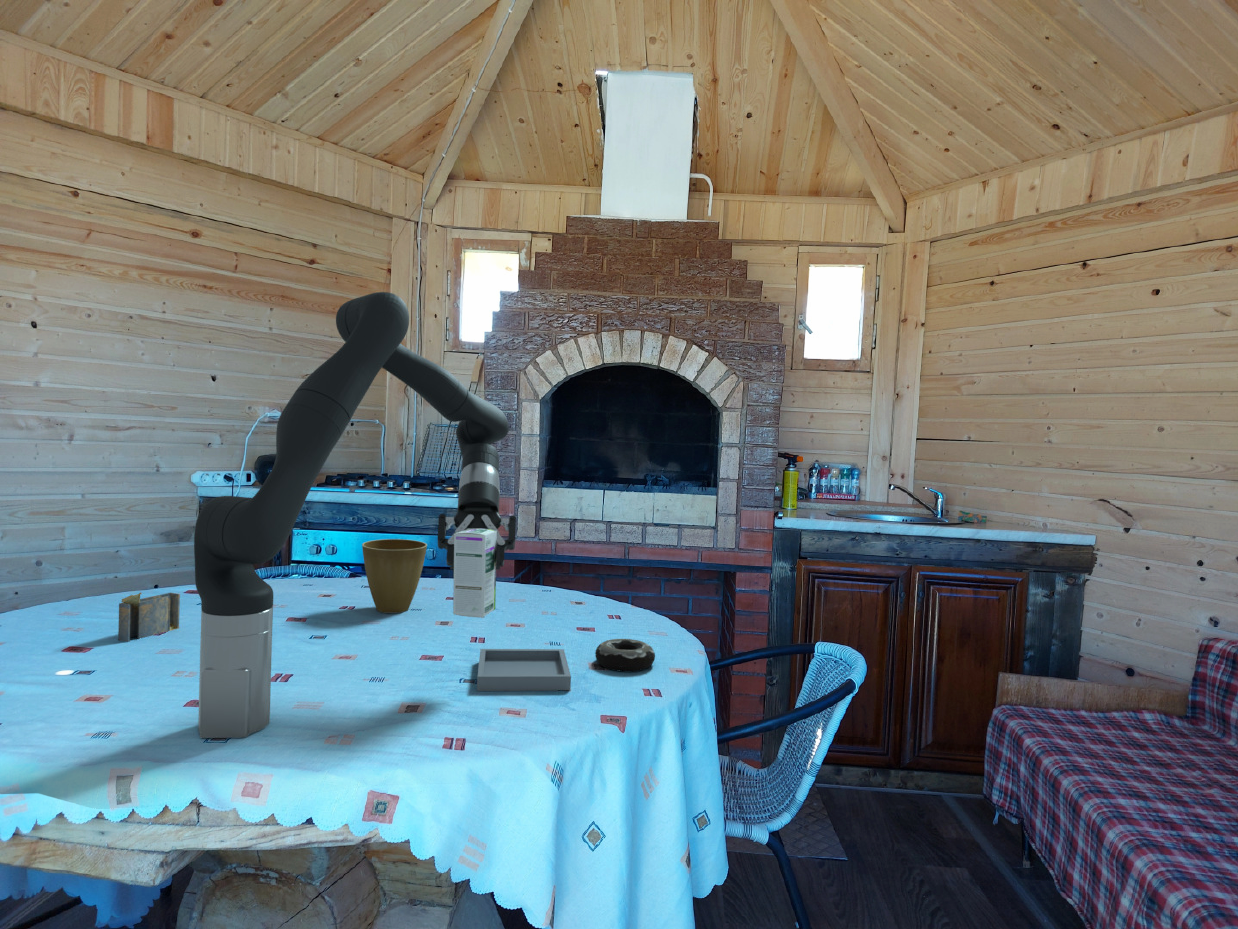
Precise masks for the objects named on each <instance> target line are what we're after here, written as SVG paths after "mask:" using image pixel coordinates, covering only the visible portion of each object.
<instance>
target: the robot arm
mask: <svg viewBox="0 0 1238 929" xmlns="http://www.w3.org/2000/svg"><path fill="white" fill-rule="evenodd" d="M335 325H336V329H337V331H338V334H339V335H340V337H341V339H342V340H343V341H344V342H345V343H343V345H342V346H341V347H340V348H339V349H338V350H337V351H336V352H335V353H334V354H333V355H332V356H330V357H329V358H328V359H326V360H325V361H324V362H323V363H322V364H320V365H319V366H318V367H317V368H316V369H315V370H314V371H313V372H311V373H310V375H309V376H307V377H306V378H305V379H304V380H303V381H302V382H301V384H300V385H299V386H298V387H297V389H296V390H295V391H294V393H293V394H292V395H291V397H290V399H289V401H288V402H287V404H286V405H285V407H284V408H283V410H282V412H281V413H280V415H279V417H278V420H277V423H276V431H275V432H276V433H275V434H276V436H275V440H276V441H275V443H276V446H275V448H276V449H275V450H276V451H275V452H276V453H275V460H274V462H273V463H274V464H273V466H272V469H271V471H270V472H269V474H268V475H267V477H266V478H265V481H264V482H263V484H262V485H261V487H260V488H259V489H258V491H256V493H255V494H254V495H253V496H252V497H246V496H245V497H244V496H237V495H235V496H234V495H221V496H217V497H215V498H212V499H211V500H209V501H208V502H206V503H205V504H204V506H203V507H202V508H201V510H200V512H199V513H198V516H197V519H196V522H195V525H194V526H195V527H194V532H193V534H194V535H193V536H194V537H193V552H194V557H193V558H194V581H195V589H196V591H197V593H198V596H199V598H200V603H201V604H200V606H201V607H200V610H201V612H200V613H201V614H200V616H201V617H200V644H199V645H200V649H199V678H198V680H199V685H198V723H197V724H198V725H197V730H198V732H199V738H200V739H217V738H218V739H219V738H221V739H222V738H223V739H224V738H226V739H227V738H235V739H236V738H238V739H239V738H247V737H249V735H251V734H253V733H256V732H258V731H261V730H263V729H265V728H266V727H267V726H268V725H269V724H270V720H271V718H270V717H271V696H272V695H271V691H272V690H271V688H272V687H271V686H272V658H273V655H272V654H273V653H272V652H273V649H272V647H273V624H274V623H273V620H274V616H273V615H274V590H273V588H272V586H271V585H270V584H269V583H267V581H265V580H264V579H262V577H260V575H258V573H257V572H256V569H255V568H254V565H261V564H265V563H266V562H267V563H268V561H271V560H272V559H274V558H275V557H276V556H277V555H278V553H280V551H281V550H282V549H283V547H284V546H285V544H286V542H287V540H288V538H289V537H290V535H291V533H292V531H293V528H294V526H295V524H296V522H297V520H298V518H299V515H300V513H301V510H302V509H303V506H304V504H305V502H306V499H307V497H308V495H309V493H310V490H311V488H312V487H313V485H314V483H315V482H316V479H317V477H318V476H319V474H320V472H321V471H322V469H323V468H324V465H325V463H326V462H327V459H328V458H329V456H330V454H331V453H332V451H333V449H334V448H335V446H336V445H337V443H338V442H339V440H340V438H341V437H342V435H343V433H344V432H345V430H346V428H347V426H348V425H349V424H350V422H351V420H352V417H353V416H354V414H355V412H356V410H357V409H358V407H359V405H360V404H361V402H362V401H363V399H364V397H365V395H366V394H367V392H368V391H369V389H370V387H371V386H372V384H373V382H374V380H375V378H376V377H377V375H378V373H379V372H380V371H381V369H384V370H385V371H386V372H388V373H389V374H391V375H392V376H394V377H395V378H397V379H398V380H399V381H401V382H402V383H404V384H405V385H406V386H408V388H410V389H412V390H413V391H414V392H415V393H417V394H418V395H419V396H420V397H421V398H422V399H424V400H425V401H426V403H428V404H429V405H430V406H431V407H432V408H434V410H435V411H436V412H438V413H439V414H440V415H441V416H442V418H443V417H444V419H446V420H447V421H449V422H451V423H453V422H455V423H456V422H459V423H458V424H457V427H456V428H455V436H456V439H457V442H458V445H459V450H460V454H461V458H462V462H461V474H460V478H459V484H458V485H459V486H458V499H457V508H456V509H457V510H456V514H455V516H447V515H446V514H445V513H441V514H439V515H438V526H437V538H436V540H437V547H438V549H439V550H443V549H444V550H446V559H445V560H446V565H447V566H448V567H449V568H450V570H454V534H455V533H459V532H461V531H464V530H466V529H472V528H482V529H491V530H496V531H497V540H496V542H497V543H496V571H497V570H498V571H499V570H501V568H502V567H503V568H504V565H505V552H506V551H508V550H509V551H514V550H515V548H516V547H515V546H516V532H517V531H516V530H517V529H516V528H517V517H516V516H515V515H510V516H508V517H509V518H508V517H505V518H504V517H501V516H500V494H501V490H500V489H501V488H500V487H501V484H500V475H499V474H500V455H499V452H498V450H497V449H496V447H495V446H493V444H495V443H496V442H499V441H501V440H503V439H504V438H506V437H507V435H508V434H509V431H510V424H509V419H508V418H507V416H506V414H505V413H504V412H503V411H502V410H501V409H500V408H499V407H498V406H496V405H495V404H493V403H491V402H489V401H487V400H486V399H483V398H481V397H480V396H479V395H477V394H475V393H472V392H471V391H469V389H467V387H466V386H465V385H463V384H462V382H460V380H458V379H457V378H456V376H455V375H453V374H452V373H451V372H450V371H448V370H447V369H445V368H444V367H442V366H441V365H439V364H437V363H435V362H433V361H431V360H429V359H427V358H425V357H423V356H422V355H419V354H418V353H416V352H414V351H412V350H411V349H409V348H408V347H406V346H404V345H403V344H402V342H403V340H404V339H405V337H406V335H407V332H408V330H409V326H410V313H409V309H408V307H407V304H406V302H405V301H404V300H403V299H402V298H401V297H400V296H398V295H396V294H395V293H392V292H388V291H379V292H372V293H370V294H366V295H362V296H360V297H356V298H353V299H351V300H348V301H346V302H344V303H343V304H342V305H340V307H339V308H338V309H337V312H336V315H335ZM452 525H454V527H456V529H455V530H454V532H453V534H452V535H451V536H450V537H449V538H446V532H447V531H448V530H449V529H451V527H452ZM501 526H503V528H504V530H505V531H506V532H508V534H507V535H508V536H507V537H508V538H507V539H504V538H503V537H502V536H501V535H500V531H499V530H498V529H499V528H500V527H501Z"/></svg>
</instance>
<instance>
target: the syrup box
mask: <svg viewBox="0 0 1238 929" xmlns="http://www.w3.org/2000/svg"><path fill="white" fill-rule="evenodd" d="M453 534H454V533H453ZM496 540H497V531H496V530H491V529H482V528H472V529H466V530H464V531H461V532H459V533H455V534H454V569H453V593H452V594H453V597H452V599H453V602H452V603H453V604H452V605H453V606H452V608H453V609H452V610H453V612H452V613H453V615H454V616H455V615H456V616H461V617H466V618H467V617H468V618H480V619H482V618H483V619H484V618H485V616H487V615H489V614H490V613H492V612H493V611H495V610H496V600H497V599H496V591H497V587H496V586H497V585H496V584H497V570H496V543H497V542H496Z"/></svg>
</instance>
